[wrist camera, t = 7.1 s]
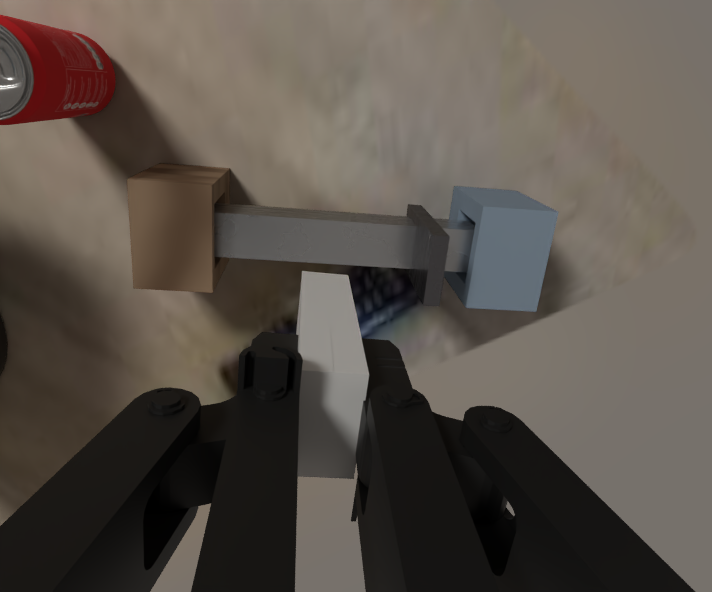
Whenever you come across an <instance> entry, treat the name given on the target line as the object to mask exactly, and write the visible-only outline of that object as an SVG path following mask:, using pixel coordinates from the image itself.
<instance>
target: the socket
mask: <svg viewBox="0 0 712 592" xmlns="http://www.w3.org/2000/svg"><path fill="white" fill-rule="evenodd" d="M557 216H558V211H556V210H554V209H552V208H550V207H548V206H546V205H544V204H542V203H540V202H538V201H536V200H534V199H532V198H530V197H528V196H526V195H524V194H522V193H520V192H518V191H511V190H499V189H486V188H473V187H460V186H454V190H453V197H452V204H451V210H450V217H449V220H462V221H474V222H475V223H476V224H475V230H474V236H473V241H472V247H471V253H470V259H469V265H468V271H467V272H452V271H445V272H444V277H445V278H446V280H447V281H448V283H449V284H450V286H451V287H452V289H453V290H454V291H455V293H456V294H457V296H458V297H459V299H460V300H461V302H462V303H463V304H464V306H465V307H466V308H477V309H495V310H513V311H531V312H536V311H537V306H538V302H539V297H540V293H541V288H542V284H543V279H544V275H545V270H546V266H547V261H548V257H549V252H550V248H551V243H552V239H553V234H554V230H555V225H556V221H557Z"/></svg>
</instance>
